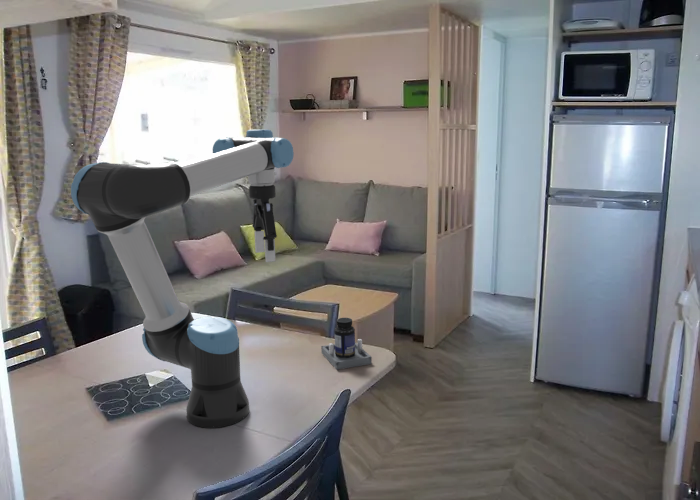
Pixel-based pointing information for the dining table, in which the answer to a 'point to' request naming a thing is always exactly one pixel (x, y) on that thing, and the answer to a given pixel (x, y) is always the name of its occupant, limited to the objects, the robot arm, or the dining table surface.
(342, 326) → the pill bottle
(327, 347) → the tray
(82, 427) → the dining table surface
